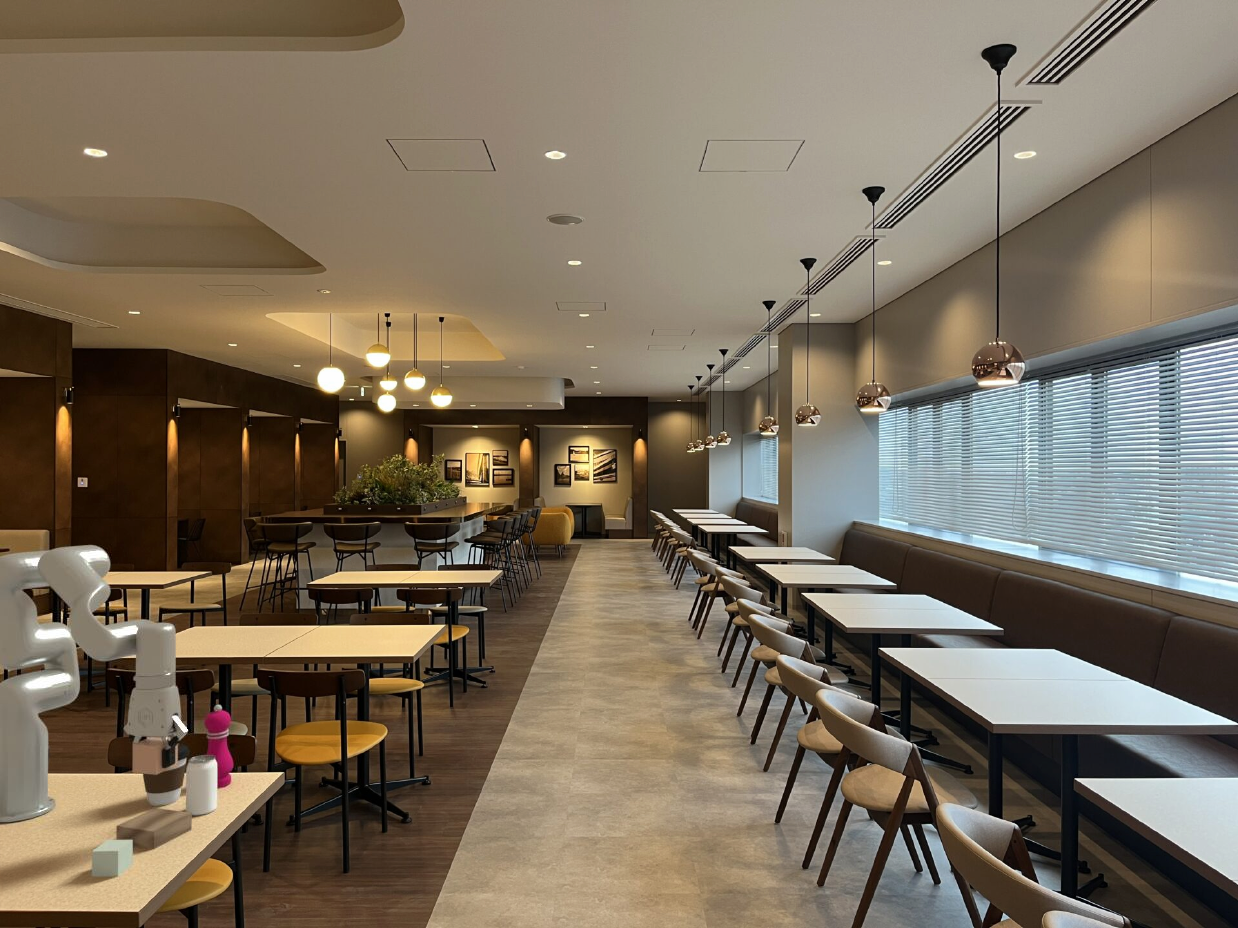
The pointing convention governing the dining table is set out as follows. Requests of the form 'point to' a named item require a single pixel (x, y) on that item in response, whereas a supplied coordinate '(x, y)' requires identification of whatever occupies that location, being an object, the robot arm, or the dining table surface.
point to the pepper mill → (219, 744)
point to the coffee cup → (167, 781)
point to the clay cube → (150, 756)
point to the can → (201, 785)
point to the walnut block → (155, 827)
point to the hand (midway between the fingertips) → (155, 764)
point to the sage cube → (112, 858)
